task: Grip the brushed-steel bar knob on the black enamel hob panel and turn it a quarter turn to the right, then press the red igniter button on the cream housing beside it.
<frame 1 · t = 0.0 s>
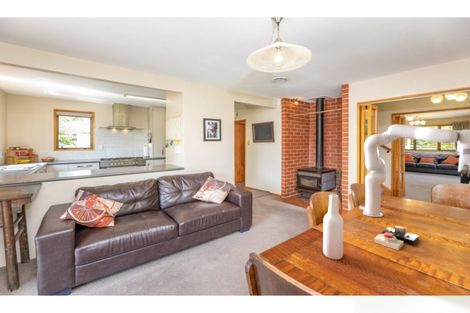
hand: (465, 182, 114), 31 cm above the table, tool pointing down, fingers open, 9 cm apart
alcohol: (332, 255, 100), on the table
hob knob: (400, 230, 115), point 5 cm above the table, hinge at 0.0°
igniter: (388, 243, 110), on the table
hob panel: (399, 238, 115), on the table
igniter button: (388, 235, 110), point 4 cm above the table, slide at 0.1 cm
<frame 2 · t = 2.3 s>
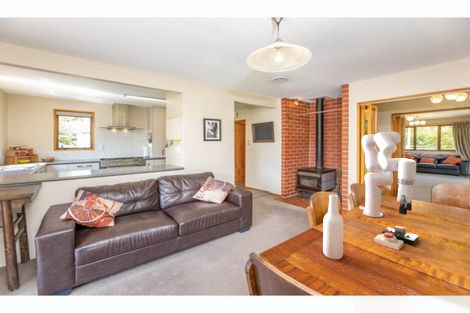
hand: (405, 212, 114), 15 cm above the table, tool pointing down, fingers open, 9 cm apart
nothing on the table moved.
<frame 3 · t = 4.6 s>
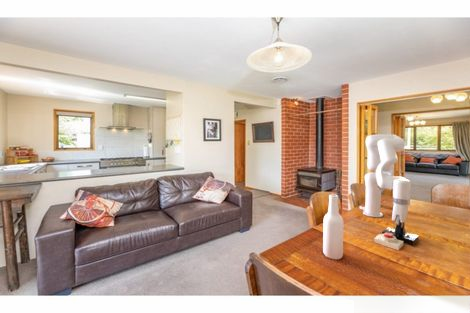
hand: (399, 232, 115), 3 cm above the table, tool pointing down, fingers closed
hob knob: (400, 230, 115), point 5 cm above the table, hinge at 0.0°, touching gripper
everything else where it was.
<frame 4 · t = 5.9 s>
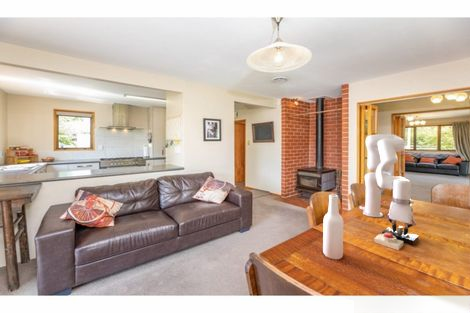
hand: (399, 232, 115), 4 cm above the table, tool pointing down, fingers open, 4 cm apart
hob knob: (400, 230, 115), point 5 cm above the table, hinge at -90.1°
everything else where it was.
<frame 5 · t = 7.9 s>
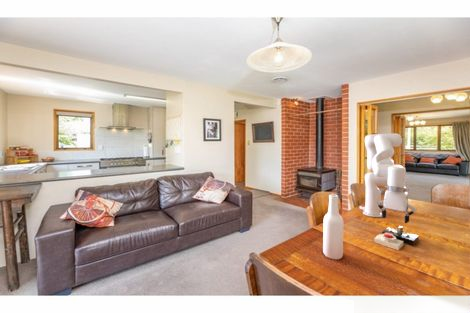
hand: (394, 220, 111), 12 cm above the table, tool pointing down, fingers open, 9 cm apart
nothing on the table moved.
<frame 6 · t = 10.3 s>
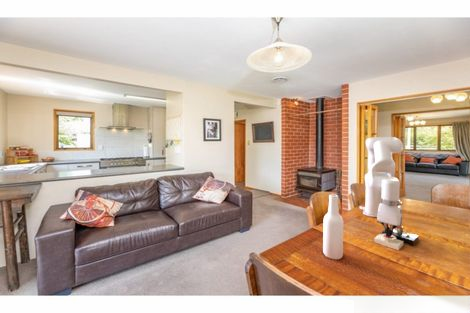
hand: (388, 235, 109), 4 cm above the table, tool pointing down, fingers closed
igniter button: (388, 237, 110), point 4 cm above the table, slide at -0.8 cm, touching gripper
everything else where it was.
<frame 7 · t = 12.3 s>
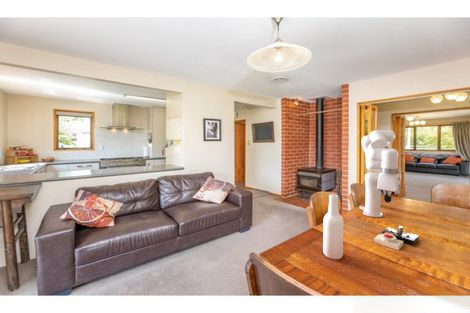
hand: (387, 201, 119), 20 cm above the table, tool pointing down, fingers closed
igniter button: (388, 235, 110), point 4 cm above the table, slide at 0.1 cm
everything else where it was.
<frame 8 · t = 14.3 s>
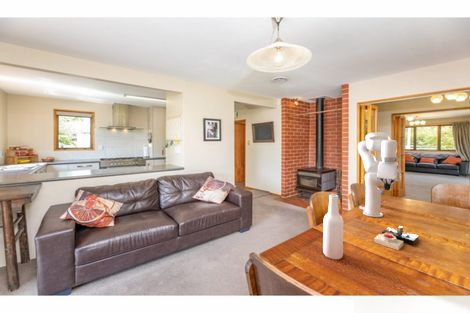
hand: (387, 189, 125), 25 cm above the table, tool pointing down, fingers closed
nothing on the table moved.
at the end: hob knob at -90° (first picture: +0°); igniter button pushed in 1.1 cm at the most during the clip and back out by the end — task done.
